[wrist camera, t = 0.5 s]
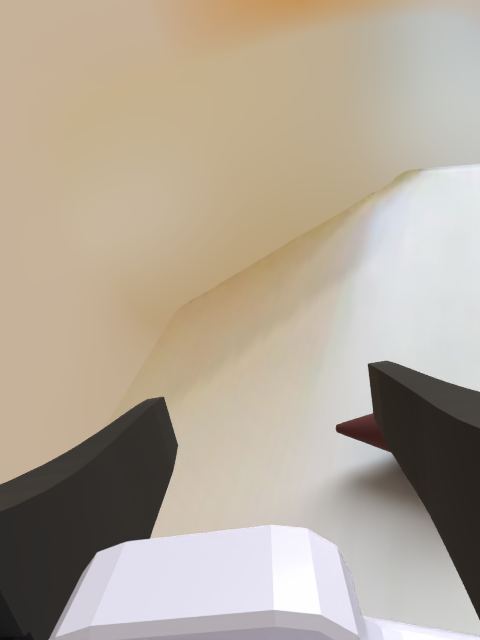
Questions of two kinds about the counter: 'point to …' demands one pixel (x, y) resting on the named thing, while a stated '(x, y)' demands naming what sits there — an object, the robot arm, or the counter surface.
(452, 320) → the counter surface
